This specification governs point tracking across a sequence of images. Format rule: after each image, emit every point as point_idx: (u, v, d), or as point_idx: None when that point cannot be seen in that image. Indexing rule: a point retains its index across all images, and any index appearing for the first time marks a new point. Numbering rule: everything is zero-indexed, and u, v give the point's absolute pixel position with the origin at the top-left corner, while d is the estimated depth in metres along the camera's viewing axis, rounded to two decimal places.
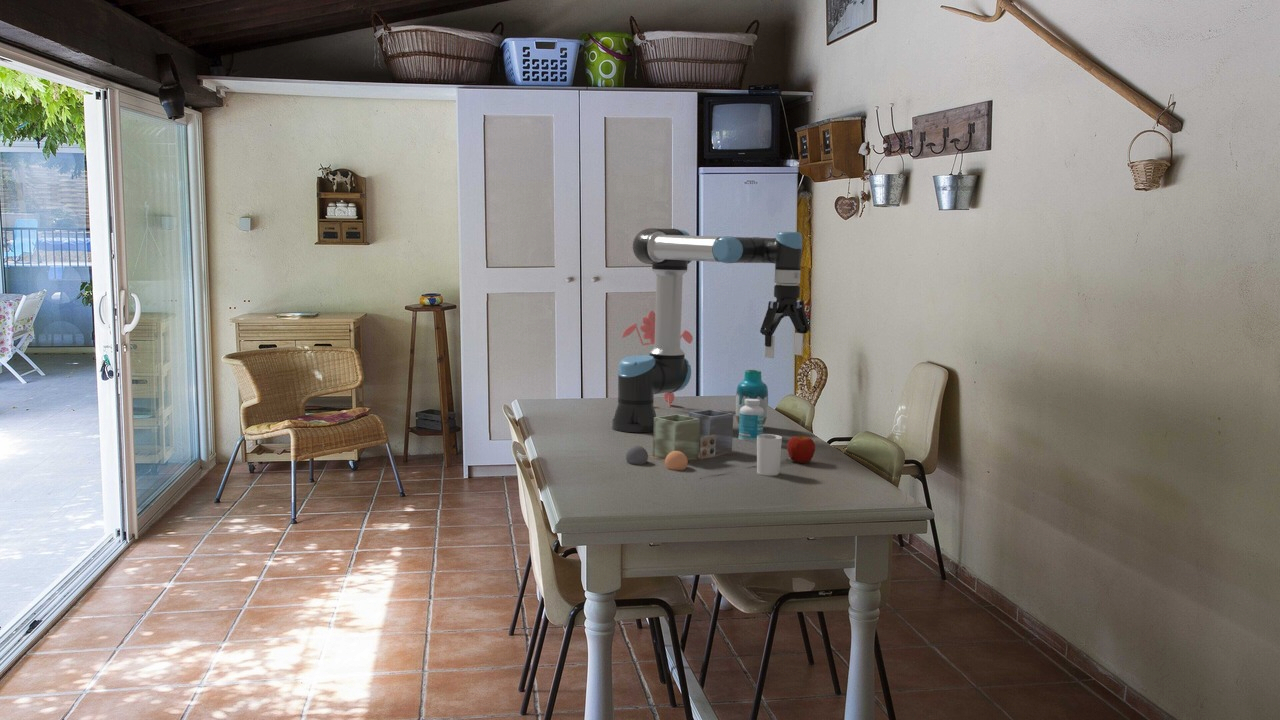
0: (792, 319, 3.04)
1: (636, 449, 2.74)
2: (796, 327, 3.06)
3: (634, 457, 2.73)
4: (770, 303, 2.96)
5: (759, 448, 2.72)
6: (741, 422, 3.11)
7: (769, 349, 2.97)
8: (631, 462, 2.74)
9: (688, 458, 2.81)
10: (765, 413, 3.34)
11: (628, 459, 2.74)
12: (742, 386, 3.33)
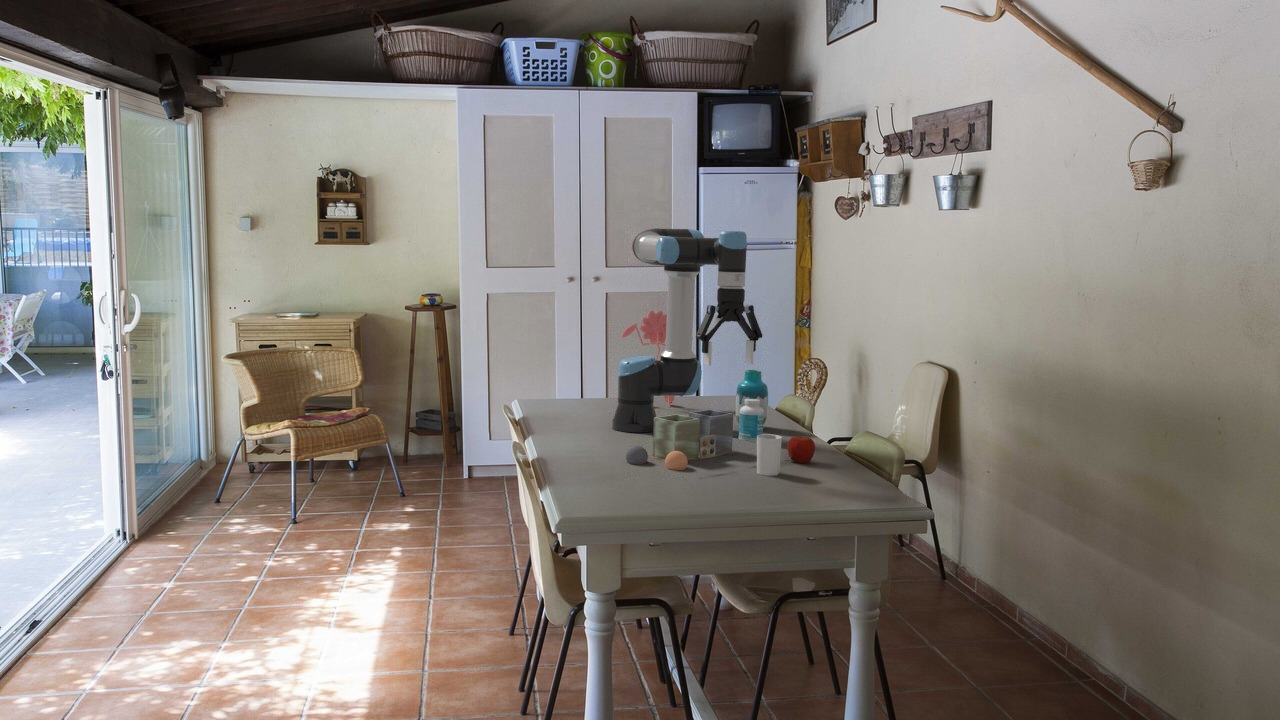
0: (740, 325, 2.83)
1: (636, 449, 2.74)
2: (746, 333, 2.85)
3: (634, 457, 2.73)
4: (708, 307, 2.78)
5: (759, 448, 2.72)
6: (741, 422, 3.11)
7: (706, 356, 2.79)
8: (631, 462, 2.74)
9: (688, 458, 2.81)
10: (765, 413, 3.34)
11: (628, 459, 2.74)
12: (742, 386, 3.33)
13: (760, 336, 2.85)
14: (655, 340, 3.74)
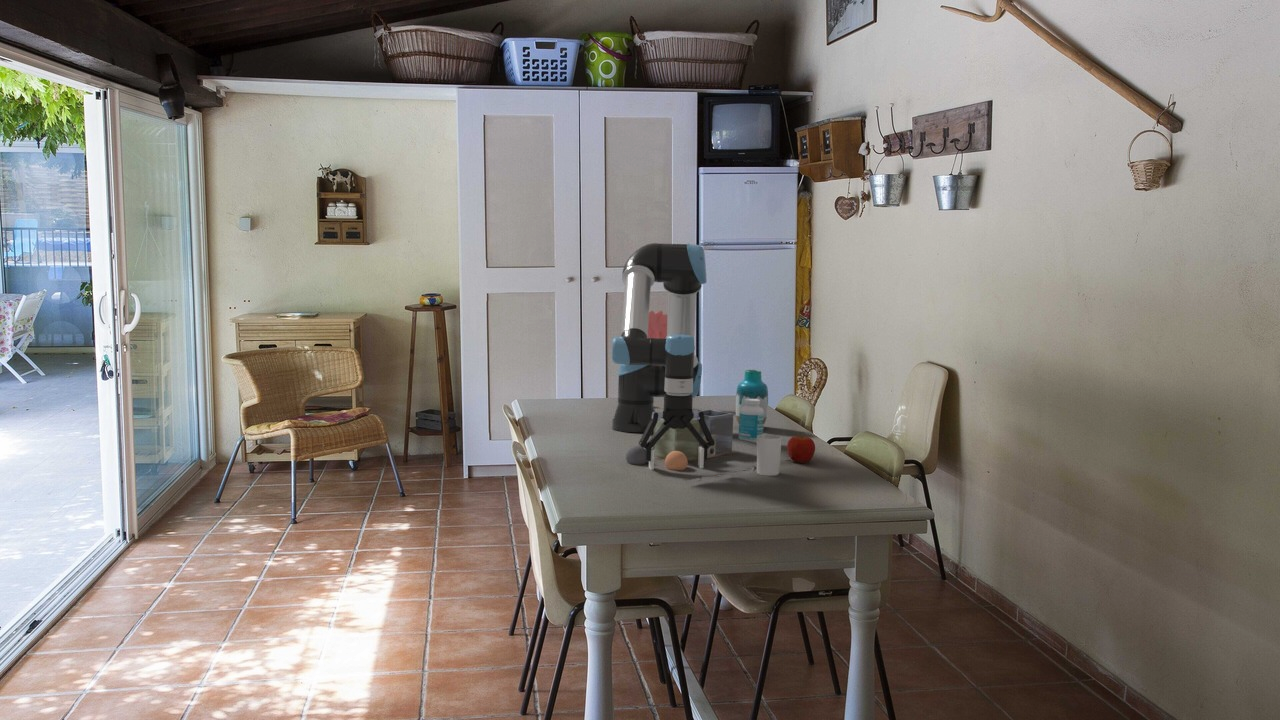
0: None
1: (636, 449, 2.74)
2: (697, 440, 2.72)
3: (634, 457, 2.73)
4: (652, 413, 2.68)
5: (759, 448, 2.72)
6: (741, 422, 3.11)
7: (650, 464, 2.69)
8: (631, 462, 2.74)
9: (688, 458, 2.81)
10: (765, 413, 3.34)
11: (628, 459, 2.74)
12: (742, 386, 3.33)
13: (712, 444, 2.71)
14: None
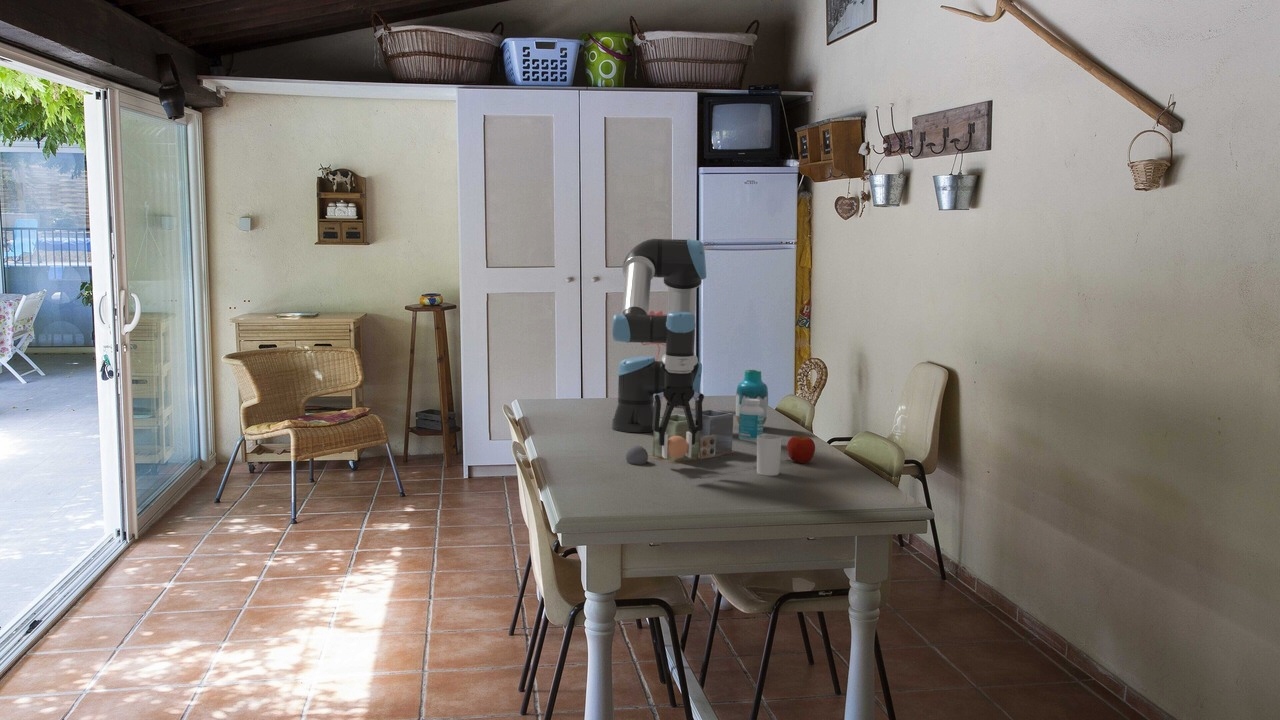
0: (685, 412, 2.70)
1: (636, 449, 2.74)
2: None
3: (634, 457, 2.73)
4: (653, 397, 2.68)
5: (759, 448, 2.72)
6: (741, 422, 3.11)
7: (663, 448, 2.70)
8: (631, 462, 2.74)
9: (688, 458, 2.81)
10: (765, 413, 3.34)
11: (628, 459, 2.74)
12: (742, 386, 3.33)
13: (699, 428, 2.70)
14: None
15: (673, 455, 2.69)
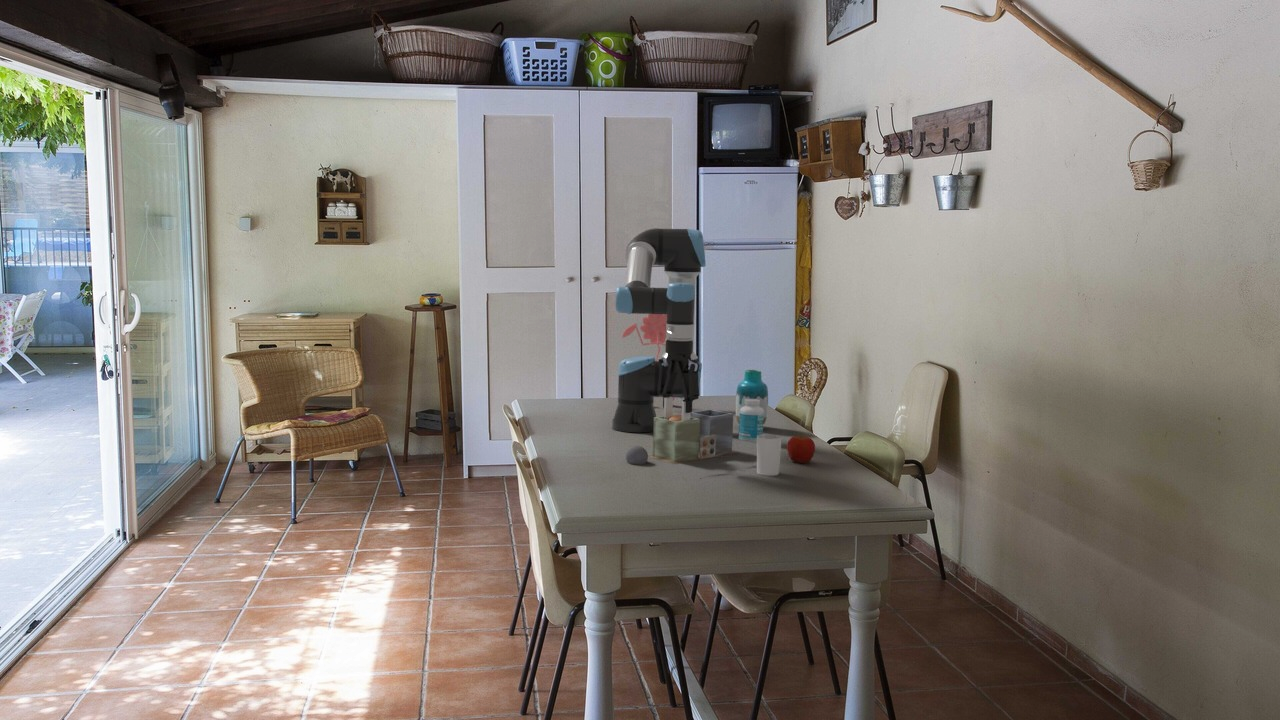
0: None
1: (636, 449, 2.74)
2: None
3: (634, 457, 2.73)
4: None
5: (759, 448, 2.72)
6: (741, 422, 3.11)
7: None
8: (631, 462, 2.74)
9: (688, 458, 2.81)
10: (765, 413, 3.34)
11: (628, 459, 2.74)
12: (742, 386, 3.33)
13: (690, 398, 2.76)
14: (655, 340, 3.74)
15: None
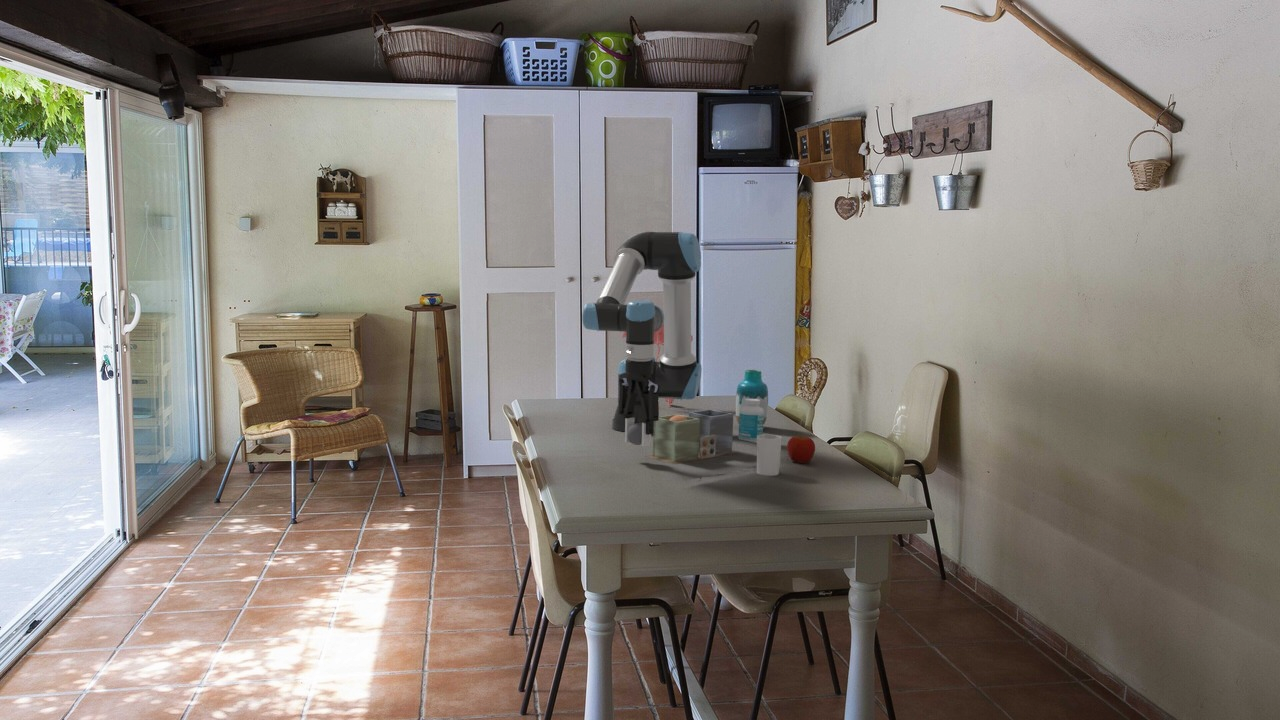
0: None
1: (637, 426, 2.74)
2: None
3: (635, 434, 2.73)
4: None
5: (759, 448, 2.72)
6: (741, 422, 3.11)
7: None
8: (632, 439, 2.73)
9: (688, 458, 2.81)
10: (765, 413, 3.34)
11: (629, 436, 2.74)
12: (742, 386, 3.33)
13: (650, 419, 2.70)
14: (655, 340, 3.74)
15: None
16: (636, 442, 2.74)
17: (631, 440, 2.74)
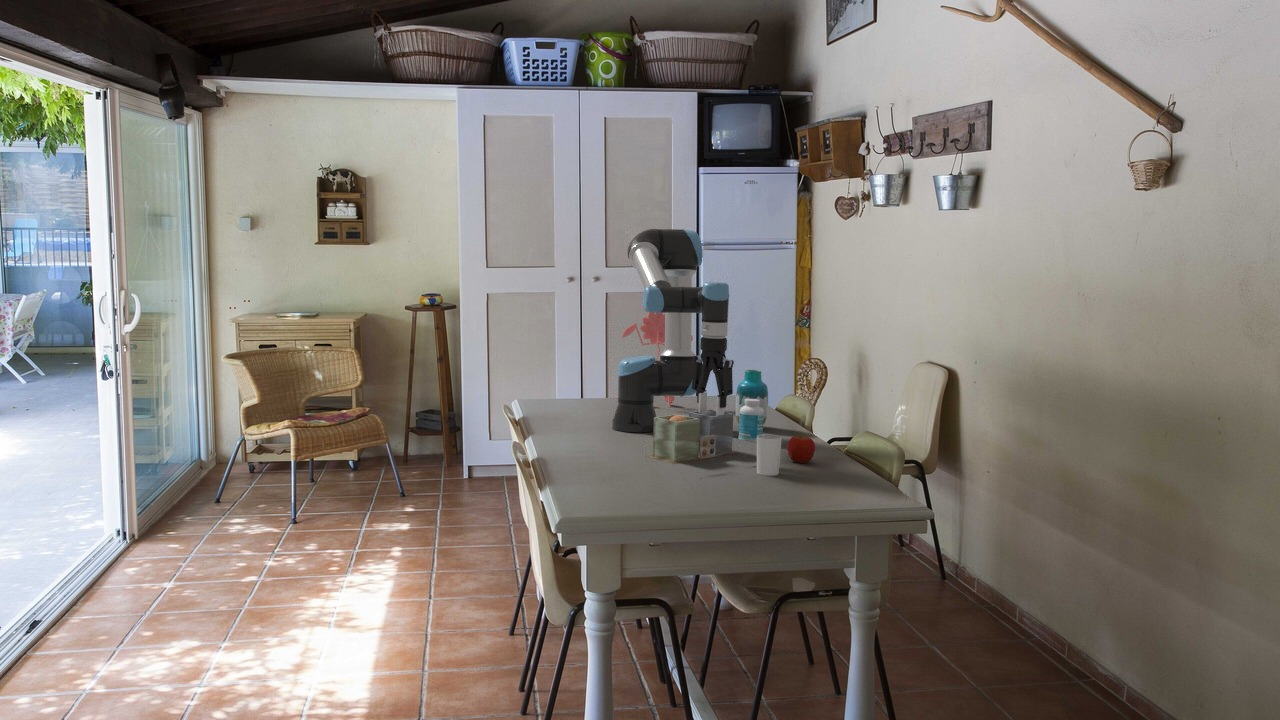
0: None
1: (708, 413, 2.90)
2: None
3: None
4: None
5: (759, 448, 2.72)
6: (741, 422, 3.11)
7: None
8: None
9: (688, 458, 2.81)
10: (765, 413, 3.34)
11: None
12: (742, 386, 3.33)
13: (724, 393, 2.86)
14: (655, 340, 3.74)
15: None
16: None
17: None
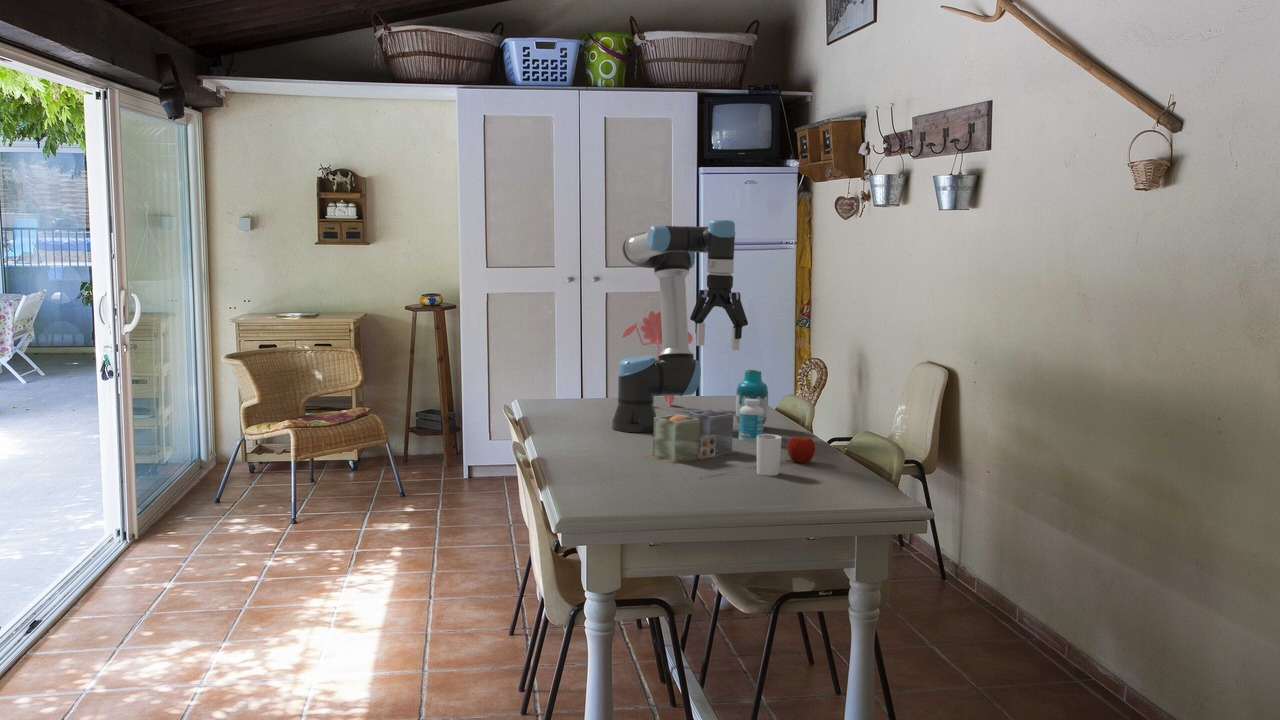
0: None
1: None
2: None
3: None
4: None
5: (759, 448, 2.72)
6: (741, 422, 3.11)
7: None
8: None
9: (688, 458, 2.81)
10: (765, 413, 3.34)
11: None
12: (742, 386, 3.33)
13: (740, 324, 2.87)
14: (655, 340, 3.74)
15: None
16: None
17: None
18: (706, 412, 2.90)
